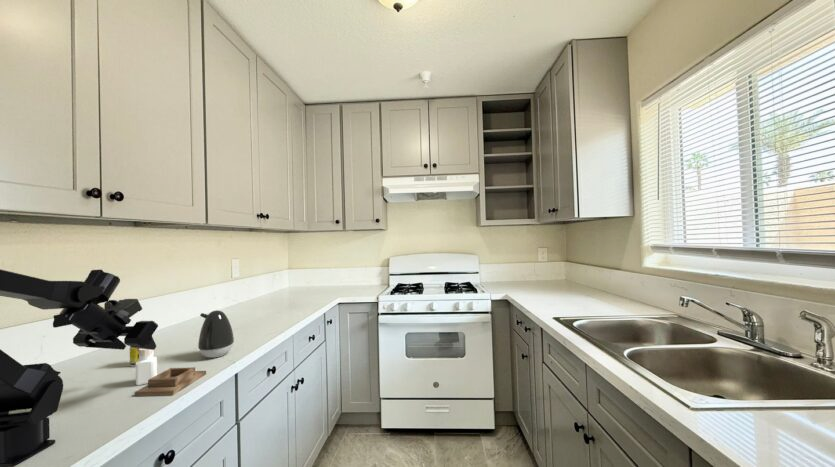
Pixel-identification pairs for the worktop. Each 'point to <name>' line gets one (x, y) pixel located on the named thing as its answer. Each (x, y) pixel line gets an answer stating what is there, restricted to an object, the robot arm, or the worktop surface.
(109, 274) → the robot arm
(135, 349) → the supplement bottle
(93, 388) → the worktop surface
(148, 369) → the pepper shaker
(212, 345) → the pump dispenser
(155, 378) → the stand
